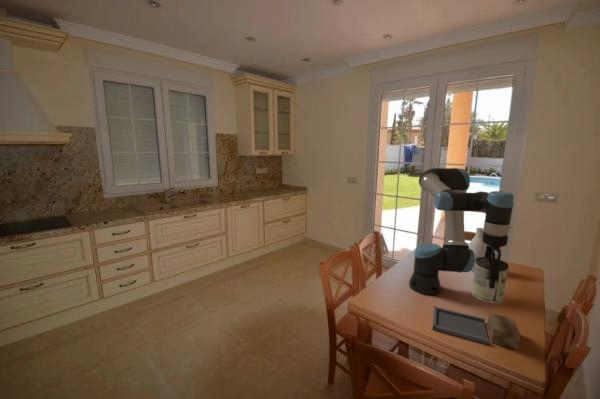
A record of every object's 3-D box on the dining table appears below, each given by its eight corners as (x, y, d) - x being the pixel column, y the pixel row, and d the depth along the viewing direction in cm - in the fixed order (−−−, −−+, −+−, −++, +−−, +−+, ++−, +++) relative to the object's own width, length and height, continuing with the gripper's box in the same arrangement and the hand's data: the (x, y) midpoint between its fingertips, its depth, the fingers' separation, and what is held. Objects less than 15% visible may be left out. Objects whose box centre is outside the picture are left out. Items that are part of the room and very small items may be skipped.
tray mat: (432, 329, 109) (432, 325, 108) (433, 309, 122) (434, 306, 121) (488, 345, 100) (489, 341, 100) (483, 322, 113) (484, 318, 113)
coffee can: (473, 286, 111) (478, 254, 108) (504, 295, 104) (510, 261, 102) (468, 296, 103) (473, 262, 101) (501, 307, 97) (507, 270, 94)
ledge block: (491, 342, 101) (493, 328, 100) (487, 325, 111) (489, 312, 110) (517, 350, 97) (520, 335, 96) (511, 331, 107) (513, 318, 106)
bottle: (462, 269, 161) (467, 228, 156) (468, 263, 169) (473, 224, 164) (484, 275, 153) (489, 233, 148) (489, 269, 160) (494, 228, 155)
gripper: (515, 244, 87) (505, 306, 92) (502, 226, 107) (494, 277, 111) (487, 241, 91) (479, 300, 95) (479, 224, 110) (473, 274, 115)
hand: (487, 288), depth 103 cm, fingers closed on coffee can, 10 cm apart
